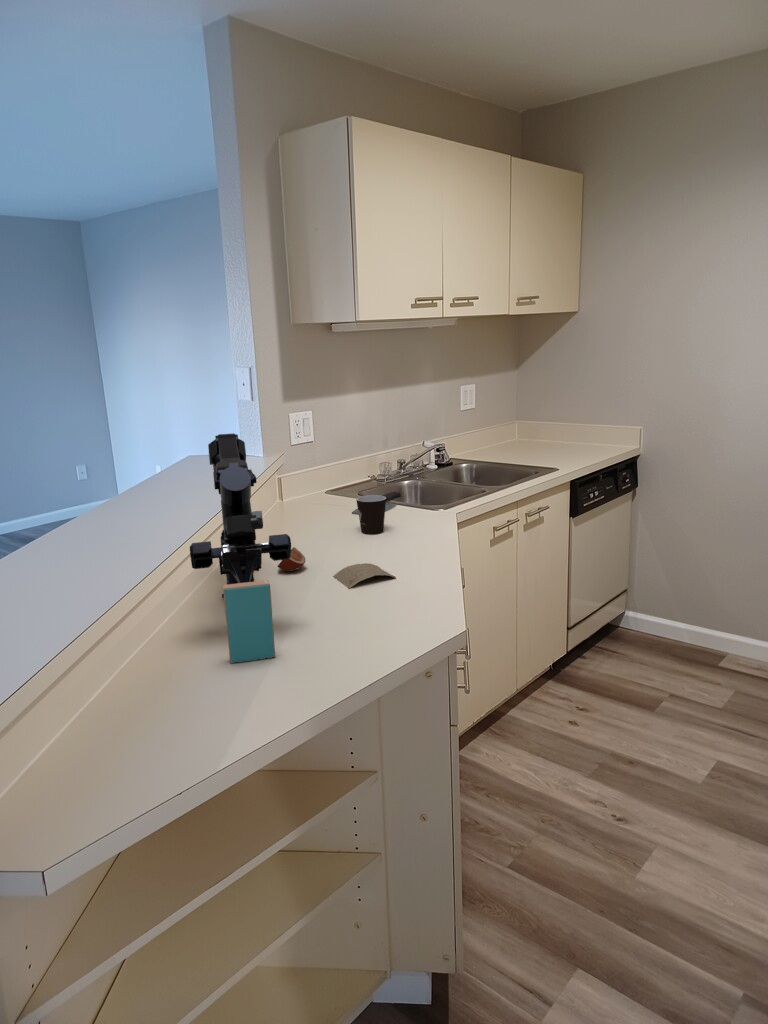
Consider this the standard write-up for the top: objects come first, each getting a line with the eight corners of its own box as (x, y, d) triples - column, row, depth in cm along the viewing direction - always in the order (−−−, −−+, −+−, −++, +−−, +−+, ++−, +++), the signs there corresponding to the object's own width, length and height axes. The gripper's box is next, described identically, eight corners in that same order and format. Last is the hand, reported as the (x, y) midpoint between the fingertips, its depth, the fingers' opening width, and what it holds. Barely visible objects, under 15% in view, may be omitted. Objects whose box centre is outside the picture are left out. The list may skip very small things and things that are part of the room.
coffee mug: (384, 536, 206) (383, 501, 204) (355, 535, 207) (353, 501, 205) (390, 525, 217) (389, 493, 215) (362, 525, 219) (361, 492, 216)
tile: (229, 658, 130) (222, 585, 127) (274, 652, 132) (268, 579, 129) (230, 664, 128) (223, 589, 125) (275, 658, 130) (270, 584, 126)
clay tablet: (380, 569, 179) (380, 558, 178) (401, 579, 170) (401, 569, 170) (327, 580, 172) (327, 569, 171) (347, 592, 163) (346, 581, 163)
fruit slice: (283, 564, 183) (282, 545, 182) (309, 565, 182) (308, 546, 181) (274, 575, 175) (272, 555, 174) (301, 575, 174) (300, 556, 173)
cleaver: (387, 496, 258) (387, 490, 258) (412, 498, 254) (412, 492, 254) (349, 516, 232) (348, 510, 232) (376, 518, 228) (376, 512, 228)
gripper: (185, 501, 133) (190, 576, 125) (286, 492, 137) (298, 565, 129) (189, 532, 142) (194, 604, 134) (284, 523, 146) (295, 592, 139)
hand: (245, 591), depth 134 cm, fingers closed
